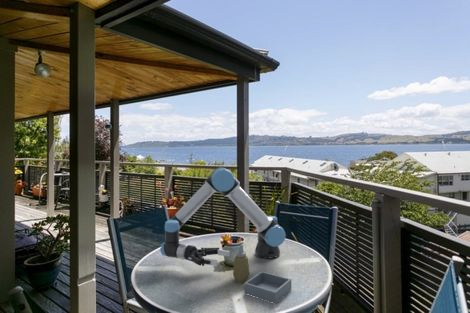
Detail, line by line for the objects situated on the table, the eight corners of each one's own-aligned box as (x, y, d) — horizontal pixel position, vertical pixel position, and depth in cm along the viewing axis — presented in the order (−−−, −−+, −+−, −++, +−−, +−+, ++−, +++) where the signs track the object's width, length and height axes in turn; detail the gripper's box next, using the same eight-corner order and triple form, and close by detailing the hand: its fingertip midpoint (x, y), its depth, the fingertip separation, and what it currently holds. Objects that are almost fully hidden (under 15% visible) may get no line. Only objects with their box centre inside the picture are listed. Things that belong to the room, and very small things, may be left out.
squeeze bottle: (235, 286, 147) (235, 248, 146) (231, 279, 154) (231, 243, 154) (251, 284, 149) (251, 246, 148) (246, 277, 157) (246, 241, 156)
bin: (261, 281, 152) (261, 271, 151) (291, 289, 143) (291, 279, 142) (244, 294, 139) (244, 283, 139) (275, 304, 130) (275, 292, 130)
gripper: (199, 251, 175) (233, 257, 167) (173, 268, 153) (211, 275, 144) (199, 238, 175) (233, 243, 166) (173, 252, 152) (211, 259, 144)
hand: (223, 258), depth 155 cm, fingers open, 13 cm apart
